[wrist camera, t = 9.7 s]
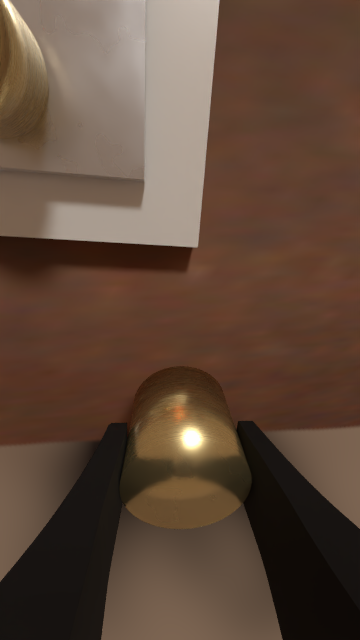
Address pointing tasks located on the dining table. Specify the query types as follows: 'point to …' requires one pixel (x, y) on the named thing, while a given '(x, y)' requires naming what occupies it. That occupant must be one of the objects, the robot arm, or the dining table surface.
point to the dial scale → (160, 152)
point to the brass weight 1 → (20, 75)
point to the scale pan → (87, 91)
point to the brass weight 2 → (183, 452)
